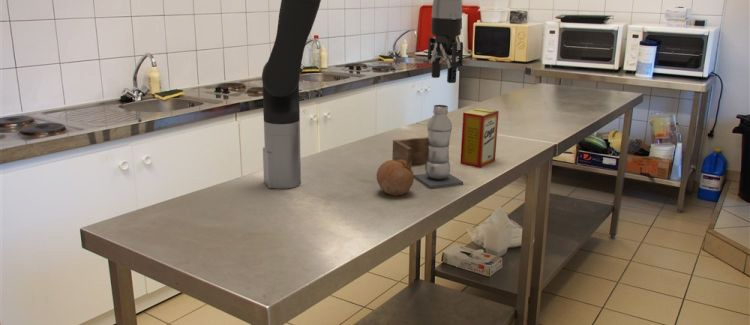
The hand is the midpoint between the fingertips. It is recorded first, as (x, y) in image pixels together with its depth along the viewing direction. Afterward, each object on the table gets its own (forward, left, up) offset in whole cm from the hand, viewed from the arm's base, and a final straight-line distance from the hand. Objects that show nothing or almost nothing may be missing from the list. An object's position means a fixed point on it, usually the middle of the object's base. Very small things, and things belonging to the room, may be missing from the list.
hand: (443, 80), depth 161 cm
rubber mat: (0, 0, -28) cm, 28 cm away
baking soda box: (+20, +12, -28) cm, 36 cm away
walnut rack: (0, +11, -28) cm, 30 cm away
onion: (-15, -5, -28) cm, 32 cm away
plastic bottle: (0, 0, -27) cm, 27 cm away
